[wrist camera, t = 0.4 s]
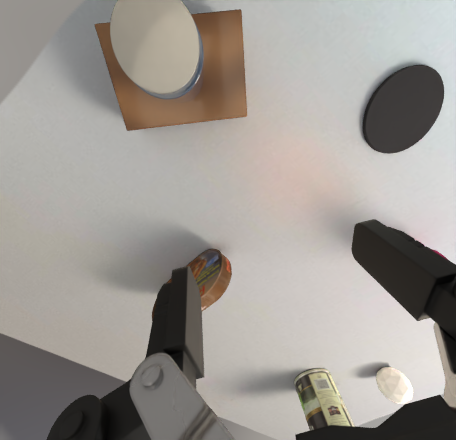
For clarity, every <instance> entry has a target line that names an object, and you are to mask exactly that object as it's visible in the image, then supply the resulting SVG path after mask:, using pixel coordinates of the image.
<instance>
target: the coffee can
mask: <svg viewBox="0 0 456 440" xmlns="http://www.w3.org/2000/svg"><path fill="white" fill-rule="evenodd" d="M294 385H295V387H296V390H297V393H298V396H299V399H300V402H301V405H302V408H303V411H304V414H305V417H306V420H307V423H308V426H309V429H310V431H311V430H315V429H318V428H322V427H325V426H329V425H339V426H352V427H355V425H354V423H353V421H352V419H351V417H350V415H349V413H348V411H347V409H346V406H345V404H344V402H343V400H342V398H341V396H340V394H339V392H338V390H337V388H336V386H335V384H334V382H333V379H332V377H331V375H330V372H329V371H327V370H325V369H312V370H308V371H306V372H303V373H302V374H300V375H299V376H297V377H296V379H295V381H294Z"/></svg>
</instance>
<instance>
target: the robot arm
mask: <svg viewBox="0 0 456 440" xmlns="http://www.w3.org/2000/svg"><path fill="white" fill-rule="evenodd" d="M352 254H353V256H354V258H355V260H356V261H357V262H358V263H359V264H360V265H361V266H362V267H363V268H364V269H365V270H366V271H367V272H368V273H369V274H370V275H371V276H372V277H373V278H374V279H375V280H376V281H377V282H378V283H379V284H380V285H381V286H382V287H383V288H384V289H385V290H386V291H387V292H388V293H389V294H390V295H392V296H393V297H394V298H395V299H396V300H397V301H398V302H399V303H400V304H401V305H402V306H403V307H404V308H405V309H406V310H407V311H408V312H409V313H410V314H411V315H412V316H413V317H414V318H415V319H416V320H417V321H420V320H423V319H427V318H432V319H433V320H434V321H435V324H434V332H435V336H436V340H437V344H438V349H439V353H440V357H441V361H442V366H443V370H444V374H445V389H444V399H443V398H442V397H441V395H437V396H434V397H430V398H427V399H423V400H419V401H416V402H412V403H409V404H405V405H404V406H403V407H401V408H400V409H399V410H398V411H396V412H395V413H394V414H393V415H392V416H390V417H389V418H388V419H387V420H386V421H384V422H383V423H382V424H381V425H380V426H378V427H376V428H363V427H352V426H339V425H329V426H325V427H322V428H318V429H315V430H311V431H307V432H304V433H300V434H297V435H296V440H456V265H455V264H454V263H452V262H450V261H449V260H447V259H446V258H444V257H442V256H441V255H439V254H438V253H436V252H434V251H433V250H431V249H430V248H428V247H425V246H424V245H423V244H422V243H420V242H418V241H417V240H416V241H415V240H414V238H412V237H410V236H409V235H407V234H406V233H404V232H402V231H399V230H396V229H394V228H391V227H387V226H385V225H383V224H382V223H380V222H379V221H377V220H374V219H373V220H369V221H365V222H361V223H357V224H356V225H355V227H354V234H353V242H352ZM202 377H204V361H203V335H202V310H201V296H200V291H199V288H198V285H197V283H196V280H195V278H194V275H193V273H192V270H191V268H190V266H187V267H183V268H179V269H175V270H173V271H172V278H171V282H170V283H166V284H164V285H163V286H162V288H161V290H160V291H159V293H158V295H157V300H156V307H155V311H154V317H153V322H152V328H151V333H150V338H149V344H148V349H147V354H146V358H145V360H144V361H143V362H142V363H141V364H140V365H139V366H138V367H137V369H136V370H135V372H134V374H133V376H132V378H131V379H130V380H129V381H128V382H126V383H125V384H123V385H122V386H120V387H119V388H117V389H116V390H114V391H112V392H111V393H109V394H108V395H106V396H104V397H103V398H102V399H99V398H97V397H96V396H94V395H86V396H83V397H80V398H78V399H77V400H75V401H74V402H73V403H71V404H70V405H69V406H68V407H67V408H66V409H65V410H64V411H63V412H62V413H61V415H60V416H59V417H58V418H57V420H56V421H55V423H54V425H53V426H52V428H51V430H50V433H49V435H48V437H47V440H235V439H234V437H233V436H232V435H231V434H230V432H229V431H228V430H227V428H226V427H225V426H224V424H223V423H222V422H221V420H220V419H219V418H218V417H217V415H216V414H215V413H214V412H213V410H212V409H211V408H210V407H209V406H208V405H207V404H206V402H205V401H204V400H203V398H202V397H201V396H200V394H199V393H198V392H197V391H196V379H199V378H202Z"/></svg>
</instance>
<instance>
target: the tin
mask: <svg viewBox="0 0 456 440" xmlns="http://www.w3.org/2000/svg"><path fill="white" fill-rule="evenodd" d="M187 266H190V268H191V270H192V273H193V275H194V278H195V280H196V283H197V285H198V288H199V291H200V296H201V310H202V311H203V310H205V309H206V308H208V307H209V306H210V305H212V304H213V303H214V302H216V301H217V300H218V299H219V298H220V297H221V296H222V295H223V293H224V292H225V290H226V289H227V287H228V285H229V282H230V279H231V275H232V272H231V264H230V261H229V260H228V259H227V258H226V257H225V256H224V255H222V254H221V252H220V251H219V250H217V249H210V250H207V251H205V252H203V253H202V254H201V255H199V256H198V257H197V258H196V259H194V260H193V261H192V262H191V263H190V264H188V265H187ZM187 266H186V267H187ZM170 282H171V279H170V280H169V281H168V282H167V283H170ZM156 300H157V299H156ZM155 307H156V301H155V304H154V307H153V312H152V321H153V317H154V311H155Z"/></svg>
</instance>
